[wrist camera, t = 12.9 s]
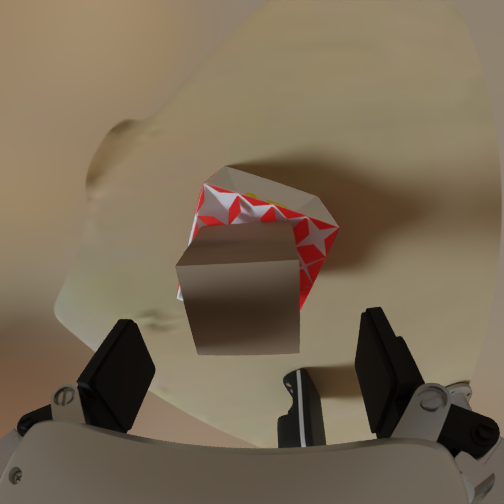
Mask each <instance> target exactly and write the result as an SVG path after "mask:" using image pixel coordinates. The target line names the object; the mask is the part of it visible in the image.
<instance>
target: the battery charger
mask: <svg viewBox="0 0 504 504" xmlns="http://www.w3.org/2000/svg"><path fill="white" fill-rule="evenodd" d="M283 383H284V385H285V387H286V388H287V390H288V391H289V393H290V395H291V396H292V398H293V404H292V406H291V408H290V410H289V411H288V414H287V415H284V416H281V417H279V418H278V423H277V431H278V448H296V447H311V446H323V445H326V439H325V430H324V423H323V416H322V408H321V400H320V396H319V394H318V392H317V390H316V388H315V386H314V384H313V382H312V380H311V378H310V376H309V374H308V373H307V371H306V370H305V369H302V370H297V371H295V372H292V373H290V374H288V375H286V376H285V377H284V378H283Z"/></svg>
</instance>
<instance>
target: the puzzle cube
mask: <svg viewBox="0 0 504 504" xmlns="http://www.w3.org/2000/svg"><path fill="white" fill-rule="evenodd" d="M287 220H291V223H292V228H293V232H294V237H295V242H296V246H297V251H298V256H299V271H300V311H301V309H302V307H303V305H304V303H305V301H306V299H307V297H308V295H309V292H310V290H311V288H312V286H313V284H314V282H315V280H316V278H317V276H318V274H319V271H320V269H321V267H322V265H323V263H324V261H325V258H326V256H327V254H328V252H329V249H330V247H331V245H332V243H333V240H334V238H335V236H336V234H337V231H338V229H339V226H338V225H337V223H336V222H335V220H334V219H333V217H332V216H331V214H330V213H329V212H328V210H327V209H326V207H325V206H324V204H323V203H322V201H321V200H320V199H319V197H318V196H315V195H312V194H309V193H307V192H304V191H301V190H298V189H295V188H292V187H290V186H287V185H284V184H281V183H278V182H275V181H272V180H269V179H266V178H262V177H259V176H256V175H253V174H250V173H247V172H243V171H240V170H237V169H233V168H230V167H227V166H224V167H223V168H222V169H220V170H219V171H218V172H217V173H215V174H214V175H213V176H211V177H210V178H209V179H208V180H207V181H205V182H204V184H203V186H202V190H201V193H200V196H199V200H198V204H197V209H196V215H195V219H194V223H193V227H192V231H191V235H190V239H189V244H188V246H189V245H190V243H191V242H192V240H193V239H194V237H195V236H196V234H197V233H198V231H199V230H200V228H201V227H202V226H212V225H226V224H240V223H255V222H270V221H287ZM177 299H179V300H182V301H183V297H182V293H181V289H180V284H179V285H178V292H177Z"/></svg>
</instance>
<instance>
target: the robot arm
mask: <svg viewBox="0 0 504 504" xmlns="http://www.w3.org/2000/svg"><path fill="white" fill-rule="evenodd" d="M355 369H356V373H357V376H358V380H359V384H360V388H361V392H362V396H363V400H364V404H365V408H366V412H367V416H368V420H369V425H370V429H371V432H372V433H376V436H377V439H373V440H366V441H357V442H350V443H342V444H333V445H323V446H311V447H296V448H259V449H258V448H257V449H256V448H253V449H252V448H225V447H211V446H200V445H191V444H182V443H175V442H168V441H162V440H155V439H150V438H144V437H139V436H134V435H129V434H127V431H128V430H130V429H131V428H132V426H133V423H134V421H135V418H136V416H137V414H138V411H139V409H140V407H141V404H142V402H143V399H144V397H145V395H146V393H147V390H148V388H149V386H150V384H151V381H152V379H153V377H154V374H155V366H154V363H153V361H152V359H151V357H150V354H149V352H148V350H147V347H146V345H145V343H144V340H143V338H142V335H141V333H140V330H139V328H138V325H137V324H136V323H134V321H133V320H131V319H120V320H118V322H117V323H116V324H115V326H114V327H113V329H112V330H111V331H110V333H109V334H108V336H107V337H106V338H105V340H104V341H103V343H102V344H101V346H100V347H99V348H98V350H97V351H96V353H95V354H94V356H93V357H92V359H91V360H90V362H89V363H88V365H87V366H86V368H85V369H84V371H83V372H82V374H81V375H80V377H79V378H78V380H77V383H78V387H75V386H74V385H72V384H65V385H62V386H60V387H58V388H57V389H56V390H55V391H54V392H53V394H52V396H51V404H49V405H47V406H45V407H42V408H40V409H37V410H35V411H32V412H30V413H28V414H26V415H24V416H23V417H21V419H20V420H19V422H18V425H17V430H16V429H15V428H14V429H13V430H11V431H10V432H9V433H7V434H6V435H5V436H3V437H2V438H1V439H0V504H504V438H502V437H501V436H500V432H499V427H498V425H497V423H496V422H495V421H494V420H492V419H491V418H489V417H486V416H483V415H480V414H478V413H475V412H473V411H472V409H471V407H470V406H469V403H468V402H469V400H470V398H471V395H472V390H471V388H470V386H469V385H468V384H466V383H459V384H454V385H451V386H449V387H446V388H445V387H444V386H442V385H440V384H437V383H426V384H425V382H424V380H423V378H422V376H421V374H420V372H419V369H418V367H417V365H416V363H415V361H414V359H413V357H412V355H411V353H410V351H409V349H408V347H407V345H406V343H405V341H404V339H403V338H402V337H401V336H398V337H396V336H395V334H394V332H393V330H392V328H391V326H390V324H389V322H388V320H387V318H386V316H385V314H384V312H383V310H382V308H381V307H374V308H367V309H366V312H363V313H362V314H361V321H360V330H359V337H358V344H357V351H356V358H355Z"/></svg>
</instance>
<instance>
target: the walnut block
mask: <svg viewBox="0 0 504 504" xmlns="http://www.w3.org/2000/svg"><path fill="white" fill-rule="evenodd" d="M175 267H176V271H177V276H178V280H179V284H180V289H181V293H182V297H183V301H184V305H185V309H186V313H187V317H188V320H189V324H190V328H191V332H192V335H193V339H194V342H195V346H196V350H197V353H198V355H272V354H292V353H299V344H300V271H299V256H298V251H297V246H296V242H295V237H294V232H293V228H292V223H291V220H287V221H270V222H255V223H240V224H226V225H212V226H202V227H201V228H200V230H199V231H198V233H197V234H196V236H195V237H194V239H193V240H192V242H191V243H190V245H189V246H188V248H187V249H186V251H185V252H184V254H183V255H182V257H181V258H180V260H179V261H178V263H177V264H176V266H175Z"/></svg>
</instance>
